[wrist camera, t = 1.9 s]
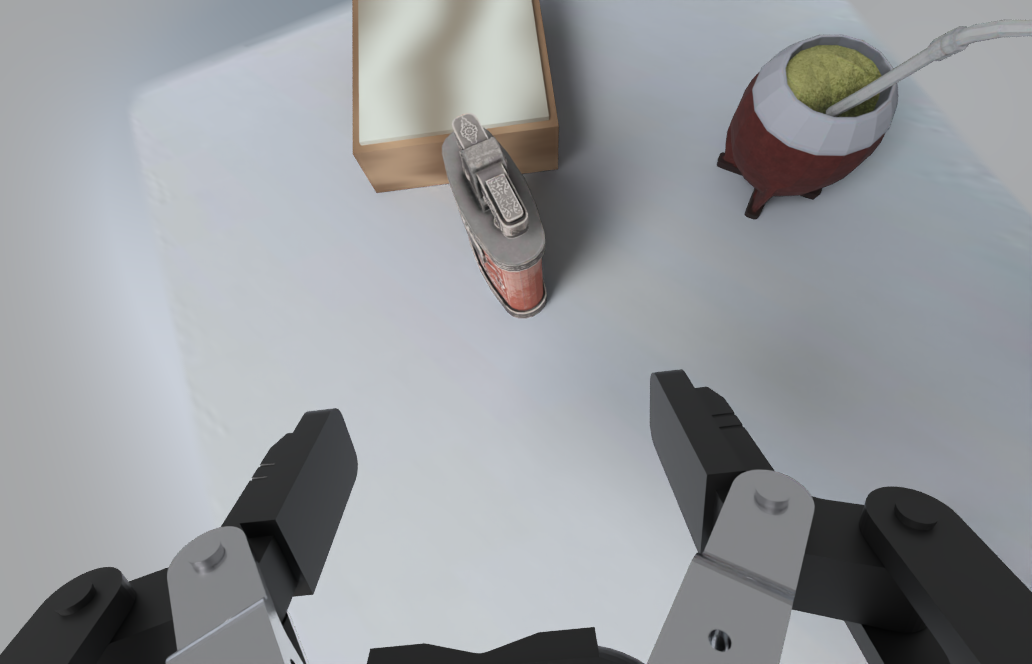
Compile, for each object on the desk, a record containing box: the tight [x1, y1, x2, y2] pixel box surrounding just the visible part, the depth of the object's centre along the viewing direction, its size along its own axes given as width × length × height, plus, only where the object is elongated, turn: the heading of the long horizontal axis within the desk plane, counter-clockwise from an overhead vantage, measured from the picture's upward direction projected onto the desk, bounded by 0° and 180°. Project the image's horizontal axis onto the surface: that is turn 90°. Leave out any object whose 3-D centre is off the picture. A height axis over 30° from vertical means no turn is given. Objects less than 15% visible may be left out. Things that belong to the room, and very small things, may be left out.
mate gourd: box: [717, 20, 1032, 219], centre depth 23 cm, size 8×8×15 cm
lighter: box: [442, 113, 547, 318], centre depth 25 cm, size 8×3×10 cm, turn 25°
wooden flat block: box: [353, 0, 559, 193], centre depth 31 cm, size 12×13×4 cm
